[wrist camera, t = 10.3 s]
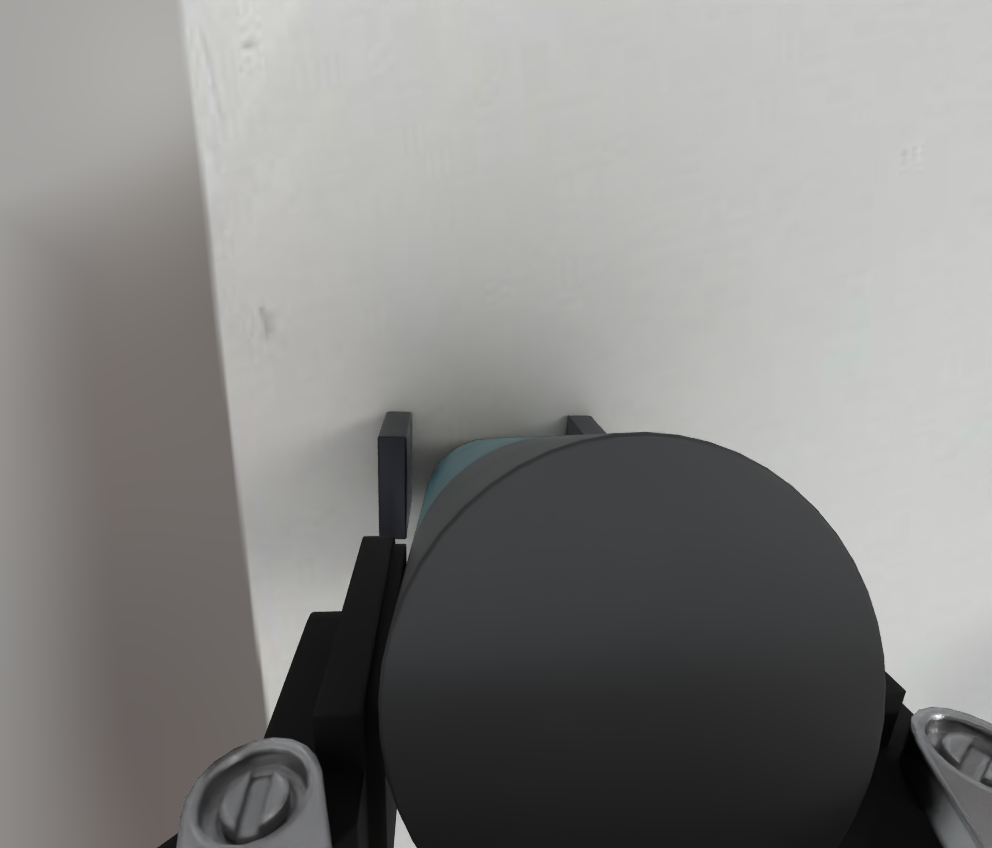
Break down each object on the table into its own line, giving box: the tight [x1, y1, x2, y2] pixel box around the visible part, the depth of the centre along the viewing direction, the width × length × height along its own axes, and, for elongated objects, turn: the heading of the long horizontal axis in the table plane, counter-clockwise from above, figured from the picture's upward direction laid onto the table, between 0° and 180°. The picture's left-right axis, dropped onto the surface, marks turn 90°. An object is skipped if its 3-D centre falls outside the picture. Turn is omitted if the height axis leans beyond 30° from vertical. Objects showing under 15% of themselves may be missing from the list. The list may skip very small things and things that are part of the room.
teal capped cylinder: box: [378, 432, 886, 848], centre depth 14 cm, size 5×17×5 cm
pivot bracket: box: [378, 412, 606, 539], centre depth 21 cm, size 8×4×3 cm, turn 87°
